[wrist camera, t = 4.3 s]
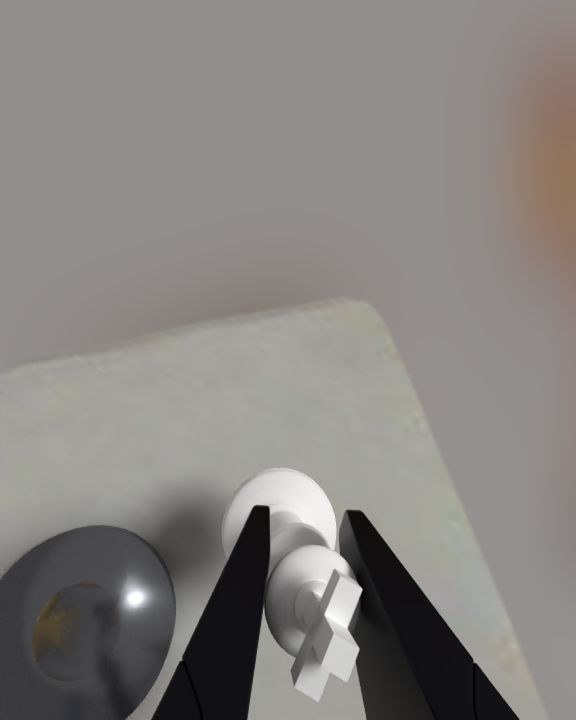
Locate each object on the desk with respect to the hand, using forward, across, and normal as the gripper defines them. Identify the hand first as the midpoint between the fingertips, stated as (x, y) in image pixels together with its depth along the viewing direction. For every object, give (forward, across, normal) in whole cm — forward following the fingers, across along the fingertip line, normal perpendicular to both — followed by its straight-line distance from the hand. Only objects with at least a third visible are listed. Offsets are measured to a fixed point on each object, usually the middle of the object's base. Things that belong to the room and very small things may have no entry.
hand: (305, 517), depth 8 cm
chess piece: (+4, 0, +6) cm, 7 cm away
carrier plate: (+3, +9, +13) cm, 16 cm away
